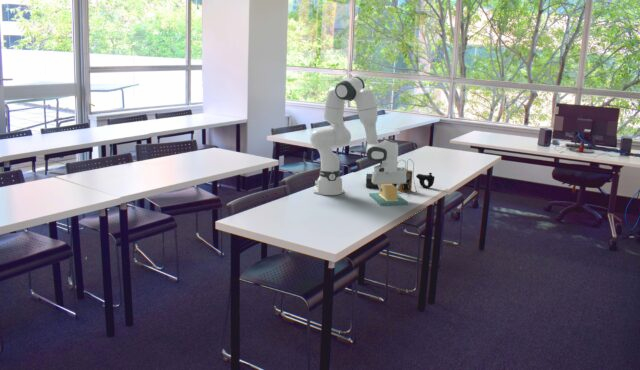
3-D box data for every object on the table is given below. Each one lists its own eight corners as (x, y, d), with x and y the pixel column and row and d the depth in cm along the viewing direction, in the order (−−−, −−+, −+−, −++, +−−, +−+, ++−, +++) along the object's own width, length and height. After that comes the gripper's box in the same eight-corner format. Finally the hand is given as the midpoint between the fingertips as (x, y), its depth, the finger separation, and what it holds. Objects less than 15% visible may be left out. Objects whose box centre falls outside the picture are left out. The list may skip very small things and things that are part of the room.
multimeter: (398, 195, 343) (400, 162, 338) (393, 191, 353) (394, 159, 348) (421, 194, 346) (423, 162, 341) (415, 190, 356) (417, 158, 351)
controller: (431, 189, 358) (432, 174, 355) (414, 186, 366) (415, 171, 363) (435, 188, 361) (436, 173, 358) (418, 185, 369) (419, 170, 366)
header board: (369, 195, 341) (369, 185, 340) (394, 194, 345) (395, 184, 343) (380, 205, 320) (381, 194, 319) (407, 204, 324) (408, 193, 322)
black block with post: (395, 183, 373) (397, 153, 369) (396, 189, 357) (398, 158, 352) (366, 182, 375) (367, 152, 370) (365, 188, 359) (367, 157, 354)
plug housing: (379, 194, 338) (380, 182, 336) (389, 194, 339) (389, 182, 337) (387, 200, 325) (388, 188, 323) (396, 200, 326) (397, 188, 324)
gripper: (404, 166, 333) (403, 189, 336) (371, 167, 329) (370, 190, 332) (408, 168, 327) (407, 191, 330) (374, 169, 323) (373, 193, 326)
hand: (388, 191), depth 331 cm, fingers open, 8 cm apart
